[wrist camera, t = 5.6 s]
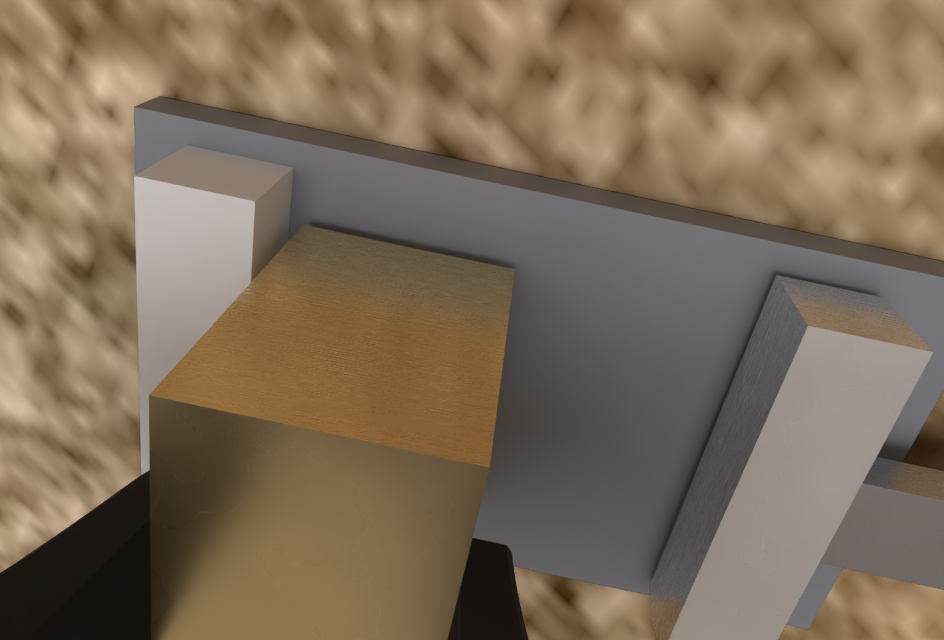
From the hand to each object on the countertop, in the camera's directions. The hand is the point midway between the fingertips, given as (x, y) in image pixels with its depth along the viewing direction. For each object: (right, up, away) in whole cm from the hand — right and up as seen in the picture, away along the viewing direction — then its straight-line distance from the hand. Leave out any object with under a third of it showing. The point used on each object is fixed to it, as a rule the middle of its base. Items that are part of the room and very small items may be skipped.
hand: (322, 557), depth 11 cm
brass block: (+1, +2, +4) cm, 5 cm away
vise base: (+3, +2, +5) cm, 7 cm away
